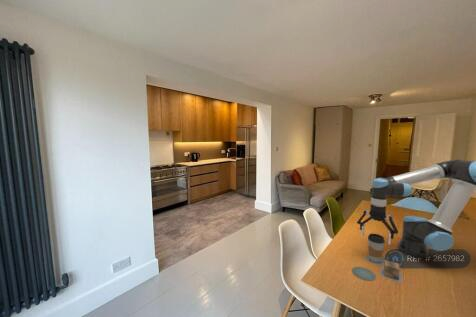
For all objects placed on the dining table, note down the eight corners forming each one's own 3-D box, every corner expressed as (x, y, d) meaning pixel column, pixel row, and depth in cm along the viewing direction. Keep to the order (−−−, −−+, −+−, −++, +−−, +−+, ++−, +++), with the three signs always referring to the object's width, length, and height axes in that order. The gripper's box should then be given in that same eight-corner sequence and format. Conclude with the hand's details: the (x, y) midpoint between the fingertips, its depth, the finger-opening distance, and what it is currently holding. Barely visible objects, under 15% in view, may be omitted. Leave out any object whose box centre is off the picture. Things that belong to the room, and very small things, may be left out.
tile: (385, 260, 123) (385, 259, 123) (382, 267, 116) (382, 266, 116) (367, 254, 129) (367, 254, 129) (364, 260, 123) (364, 260, 123)
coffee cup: (363, 256, 127) (364, 233, 125) (376, 255, 127) (377, 232, 126) (373, 264, 118) (375, 240, 117) (386, 263, 119) (388, 239, 117)
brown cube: (397, 273, 110) (398, 263, 110) (398, 280, 105) (399, 269, 105) (383, 269, 113) (384, 259, 113) (384, 276, 109) (385, 265, 108)
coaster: (377, 273, 111) (377, 272, 111) (373, 284, 103) (373, 283, 103) (354, 265, 118) (355, 264, 118) (349, 274, 110) (349, 273, 110)
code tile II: (402, 275, 110) (402, 274, 110) (400, 283, 103) (400, 283, 103) (382, 267, 116) (382, 267, 116) (379, 275, 109) (379, 275, 109)
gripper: (406, 208, 114) (402, 244, 116) (356, 199, 131) (354, 230, 133) (405, 212, 108) (401, 249, 110) (353, 201, 125) (350, 234, 127)
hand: (375, 239), depth 122 cm, fingers open, 13 cm apart
